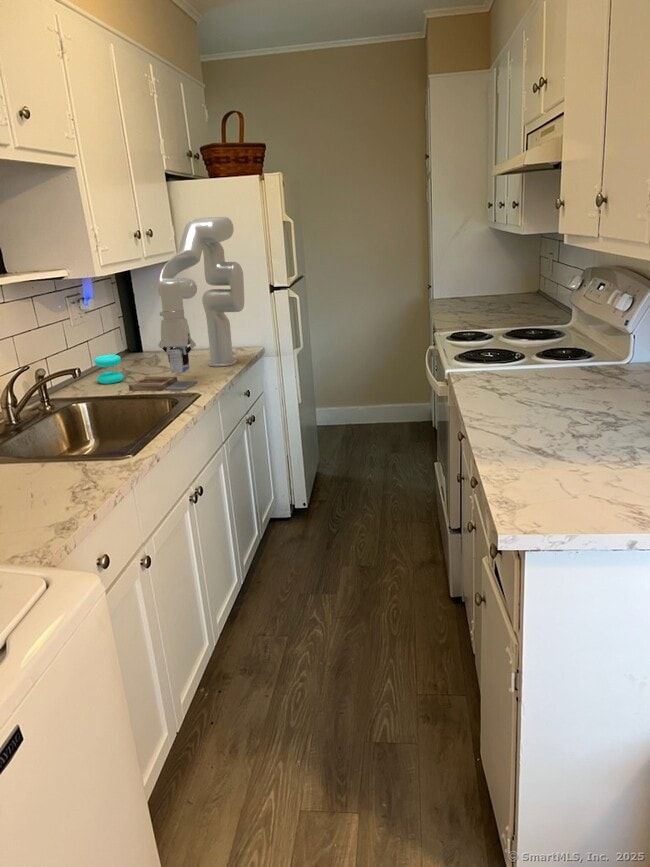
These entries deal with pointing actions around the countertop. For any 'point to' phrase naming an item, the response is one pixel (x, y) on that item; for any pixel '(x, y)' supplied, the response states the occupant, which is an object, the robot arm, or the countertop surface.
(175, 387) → the slate mat
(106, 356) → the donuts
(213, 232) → the robot arm
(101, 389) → the countertop surface
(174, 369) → the medicine box
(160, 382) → the board
